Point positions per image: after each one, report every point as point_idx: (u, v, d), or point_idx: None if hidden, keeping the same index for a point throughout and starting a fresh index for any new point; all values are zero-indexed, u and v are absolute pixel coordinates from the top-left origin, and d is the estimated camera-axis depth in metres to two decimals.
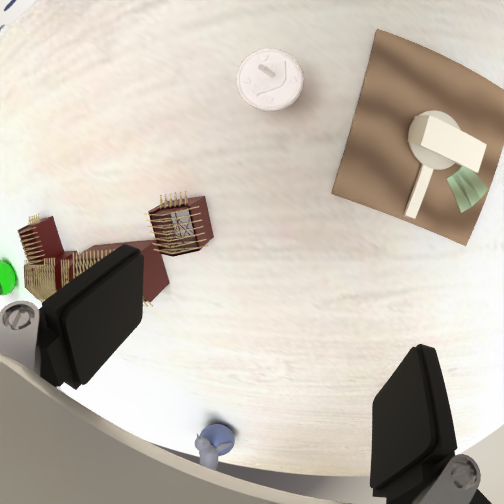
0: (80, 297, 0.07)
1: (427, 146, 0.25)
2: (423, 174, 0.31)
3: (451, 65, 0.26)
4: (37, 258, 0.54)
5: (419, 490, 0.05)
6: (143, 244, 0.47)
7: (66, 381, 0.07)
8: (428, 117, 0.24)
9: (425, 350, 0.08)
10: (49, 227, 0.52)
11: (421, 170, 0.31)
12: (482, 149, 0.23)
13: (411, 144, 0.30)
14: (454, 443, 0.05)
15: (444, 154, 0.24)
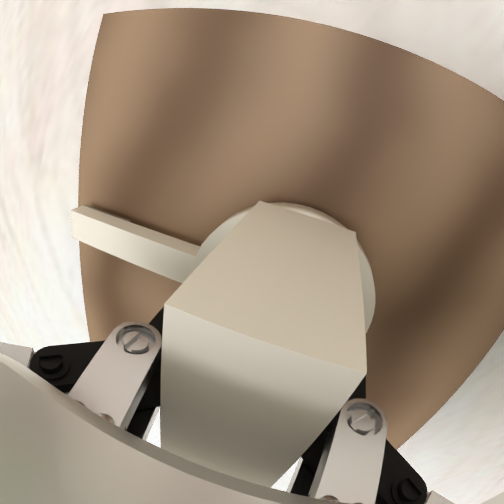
0: None
1: (171, 339, 0.05)
2: (168, 255, 0.12)
3: (482, 343, 0.11)
4: None
5: None
6: None
7: None
8: (352, 359, 0.04)
9: None
10: None
11: (179, 248, 0.12)
12: None
13: None
14: None
15: (166, 402, 0.06)
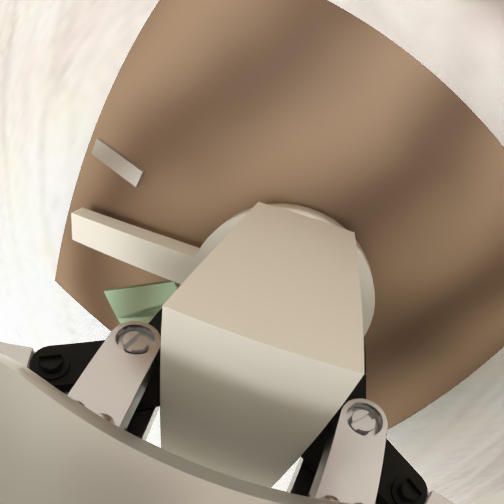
0: None
1: (169, 340, 0.05)
2: (167, 257, 0.12)
3: (436, 389, 0.13)
4: None
5: None
6: None
7: None
8: (350, 360, 0.04)
9: None
10: None
11: (179, 250, 0.12)
12: None
13: None
14: None
15: (166, 403, 0.06)
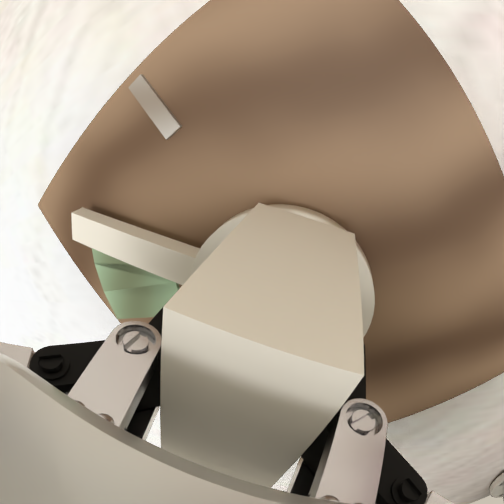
0: None
1: (170, 341, 0.05)
2: (167, 257, 0.12)
3: None
4: None
5: None
6: None
7: None
8: (349, 361, 0.04)
9: None
10: None
11: (179, 250, 0.12)
12: None
13: None
14: None
15: (166, 404, 0.06)
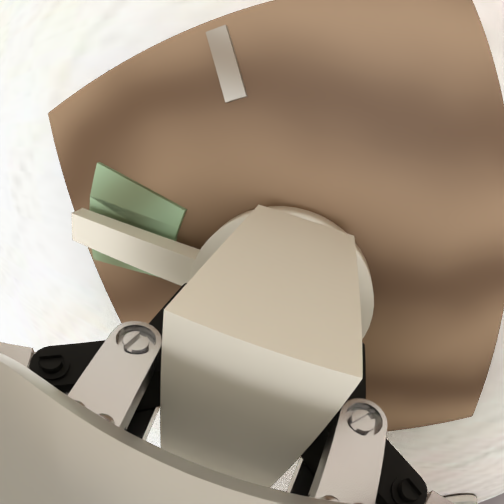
0: None
1: (170, 344, 0.05)
2: (167, 258, 0.12)
3: None
4: None
5: None
6: None
7: None
8: (348, 364, 0.04)
9: None
10: None
11: (179, 251, 0.12)
12: None
13: None
14: None
15: (166, 405, 0.06)
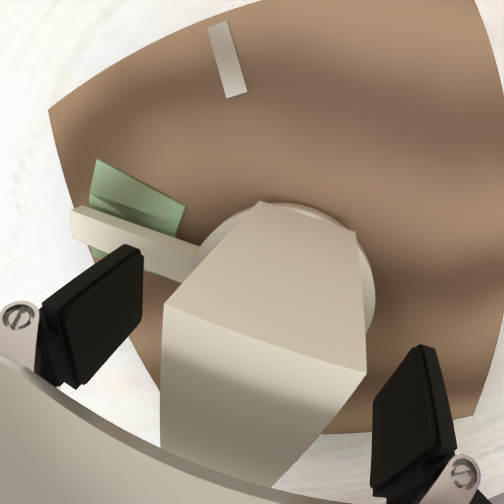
0: (80, 297, 0.07)
1: (170, 339, 0.05)
2: (167, 255, 0.12)
3: None
4: None
5: (419, 490, 0.05)
6: None
7: (67, 381, 0.07)
8: (352, 359, 0.04)
9: (425, 350, 0.08)
10: None
11: (179, 248, 0.12)
12: None
13: None
14: (453, 443, 0.05)
15: (166, 402, 0.06)
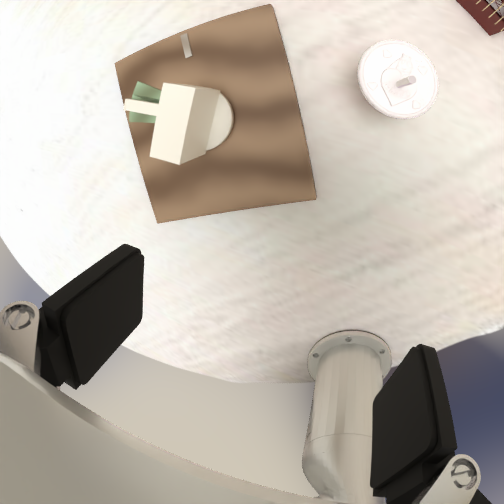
0: (80, 297, 0.07)
1: (163, 90, 0.23)
2: None
3: (227, 205, 0.35)
4: None
5: (419, 490, 0.05)
6: None
7: (66, 381, 0.07)
8: (194, 87, 0.23)
9: (425, 350, 0.08)
10: None
11: None
12: (173, 159, 0.26)
13: None
14: (453, 443, 0.05)
15: (158, 111, 0.24)
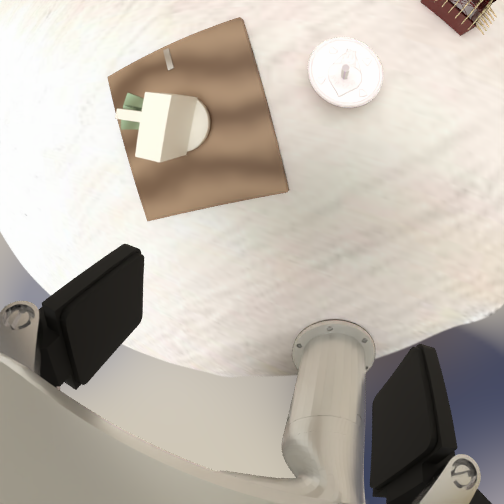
0: (80, 297, 0.07)
1: (145, 98, 0.27)
2: None
3: (208, 201, 0.38)
4: None
5: (419, 490, 0.05)
6: None
7: (67, 381, 0.07)
8: (170, 95, 0.26)
9: (425, 350, 0.08)
10: None
11: None
12: (154, 158, 0.29)
13: None
14: (453, 443, 0.05)
15: (141, 116, 0.28)
